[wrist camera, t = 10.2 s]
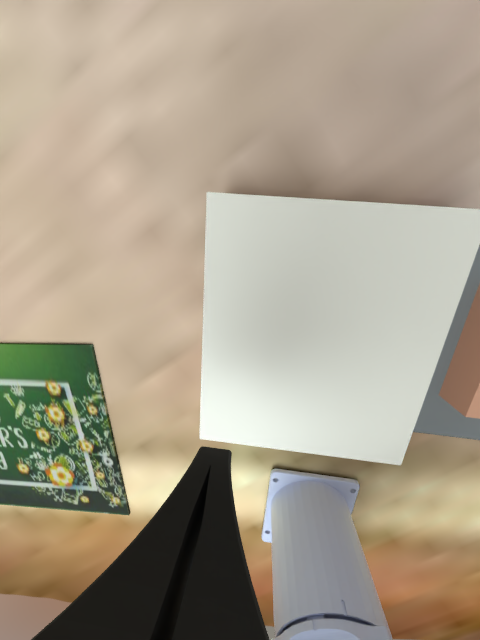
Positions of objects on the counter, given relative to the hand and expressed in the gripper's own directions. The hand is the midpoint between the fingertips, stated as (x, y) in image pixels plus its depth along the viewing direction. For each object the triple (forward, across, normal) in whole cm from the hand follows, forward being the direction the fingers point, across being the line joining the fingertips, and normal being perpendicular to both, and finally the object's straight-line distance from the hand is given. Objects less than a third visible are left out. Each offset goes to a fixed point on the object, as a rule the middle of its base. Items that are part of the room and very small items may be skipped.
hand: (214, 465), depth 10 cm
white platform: (+9, -5, -4) cm, 11 cm away
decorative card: (+10, +28, +11) cm, 32 cm away
